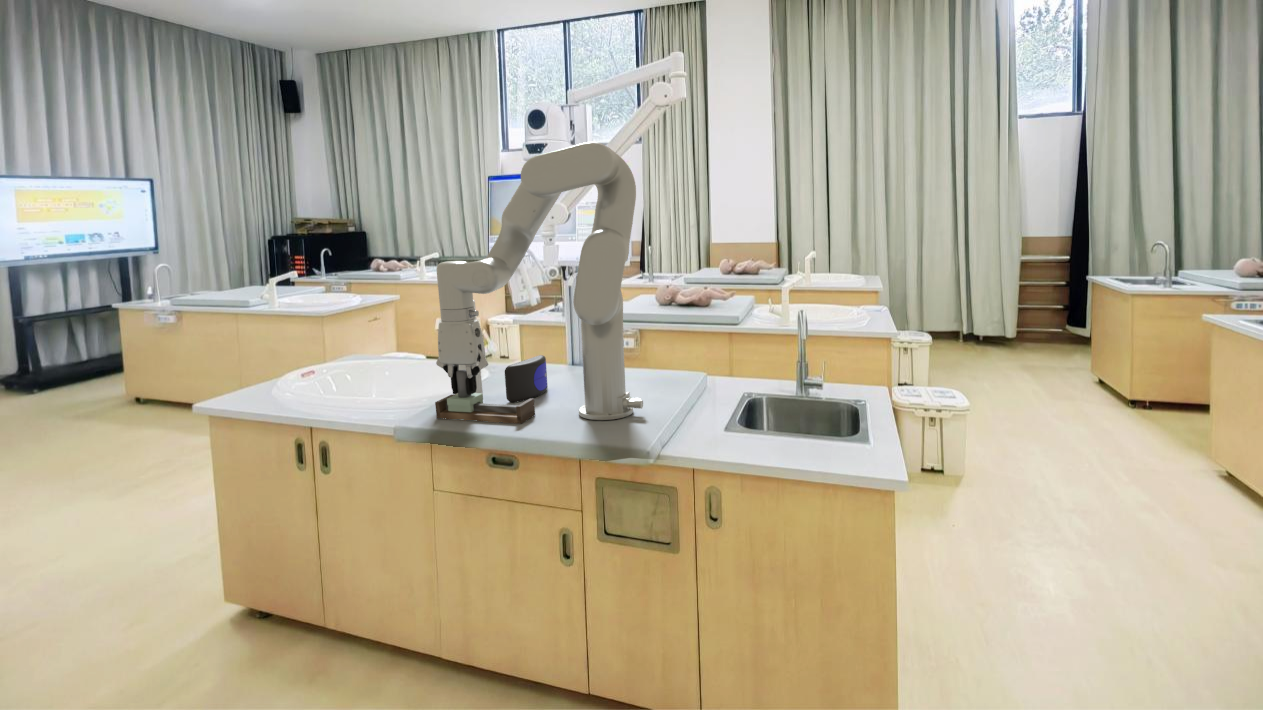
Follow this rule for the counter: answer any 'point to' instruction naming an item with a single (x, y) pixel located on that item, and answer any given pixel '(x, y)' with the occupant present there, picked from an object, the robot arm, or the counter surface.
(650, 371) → the counter surface
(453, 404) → the carriage
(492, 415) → the board
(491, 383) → the counter surface
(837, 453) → the counter surface
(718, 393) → the counter surface
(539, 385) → the black curved block
